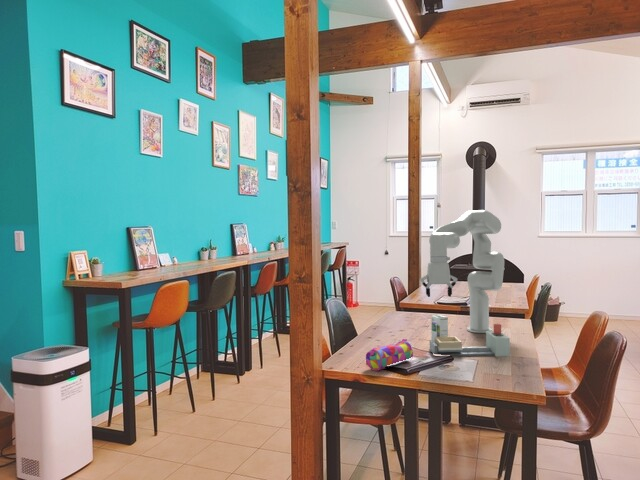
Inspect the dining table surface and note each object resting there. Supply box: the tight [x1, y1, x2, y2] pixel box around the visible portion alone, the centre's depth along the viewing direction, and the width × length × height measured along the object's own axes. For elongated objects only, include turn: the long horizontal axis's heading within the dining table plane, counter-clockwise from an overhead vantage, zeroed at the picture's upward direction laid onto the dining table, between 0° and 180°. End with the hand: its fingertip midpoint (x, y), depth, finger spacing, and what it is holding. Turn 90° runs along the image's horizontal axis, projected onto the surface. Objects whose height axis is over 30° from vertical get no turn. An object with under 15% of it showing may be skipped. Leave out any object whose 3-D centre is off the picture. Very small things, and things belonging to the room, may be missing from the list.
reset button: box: [493, 323, 502, 336], centre depth 202 cm, size 3×3×7 cm
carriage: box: [434, 335, 464, 352], centre depth 202 cm, size 10×10×5 cm
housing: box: [485, 330, 511, 357], centre depth 202 cm, size 12×6×8 cm, turn 179°
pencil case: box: [365, 338, 414, 372], centre depth 188 cm, size 22×9×9 cm, turn 132°
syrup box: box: [430, 314, 449, 342], centre depth 213 cm, size 6×6×14 cm
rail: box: [429, 339, 496, 358], centre depth 202 cm, size 10×26×5 cm, turn 89°
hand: (438, 296), depth 212 cm, fingers open, 9 cm apart
